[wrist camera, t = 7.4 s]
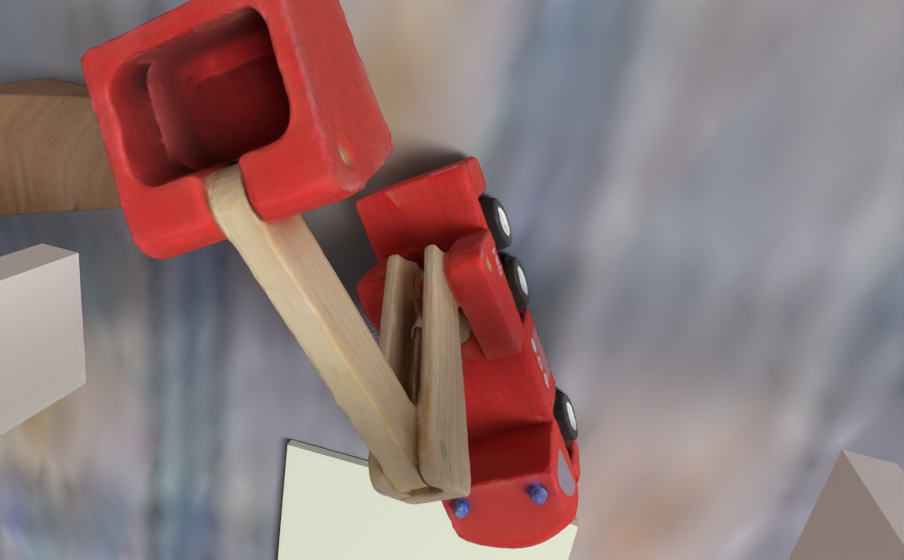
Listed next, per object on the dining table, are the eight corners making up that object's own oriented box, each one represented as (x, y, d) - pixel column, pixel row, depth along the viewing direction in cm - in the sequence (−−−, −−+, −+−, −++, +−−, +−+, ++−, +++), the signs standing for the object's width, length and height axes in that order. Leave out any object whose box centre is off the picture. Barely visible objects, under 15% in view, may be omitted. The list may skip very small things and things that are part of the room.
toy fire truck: (491, 476, 20) (413, 809, 11) (329, 59, 17) (29, 46, 8) (591, 458, 19) (597, 807, 10) (440, 11, 16) (247, -68, 7)
